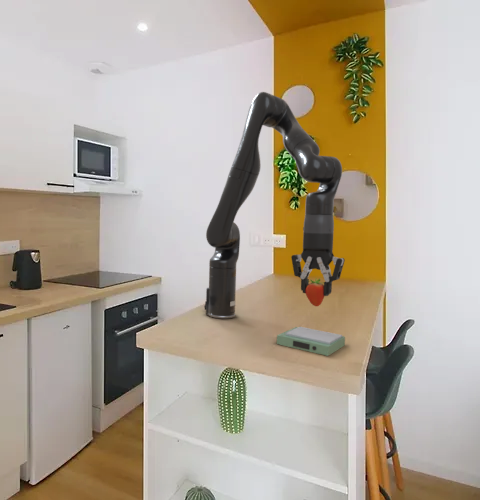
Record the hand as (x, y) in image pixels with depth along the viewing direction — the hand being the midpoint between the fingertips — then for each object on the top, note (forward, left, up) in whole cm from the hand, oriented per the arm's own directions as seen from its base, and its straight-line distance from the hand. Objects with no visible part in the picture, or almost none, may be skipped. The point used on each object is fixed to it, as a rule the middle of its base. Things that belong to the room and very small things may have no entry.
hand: (315, 293), depth 113 cm
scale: (-1, -1, -14) cm, 14 cm away
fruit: (0, 0, -4) cm, 4 cm away
